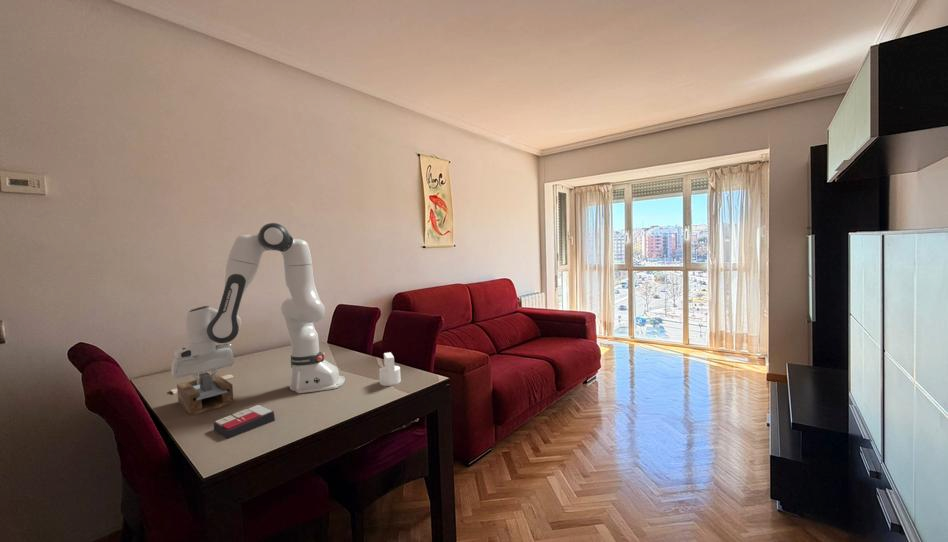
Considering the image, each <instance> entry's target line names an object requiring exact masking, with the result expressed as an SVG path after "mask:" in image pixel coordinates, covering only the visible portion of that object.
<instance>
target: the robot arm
mask: <svg viewBox="0 0 948 542" xmlns="http://www.w3.org/2000/svg"><path fill="white" fill-rule="evenodd" d="M266 251H278V252H280V253H281V254H282V255H281V256H282V257H283V259H282V260H283V266H284V268H283V269H284V277H285V285H286V287H287V288H288V290H289V293H290V297H287V298H286V299H285V300H284V301H283V302H282V304H281V307H280V311H281V313H282V316H283V317H284V320H285V323H286V327H287V331H288V335H289V340H290V347H291V348H290V349H291V351H290V352H291V355H290V368H291V380H290V381H291V382H290V385H289V390H291V391H293V392H295V393H297V394H304V393H305V394H306V393H311V392H313V393H314V392H321V391H328V390H335V389H337V388H340V387H341V386H343V384H344V383H345V381H346V378H345V376H343V375H340V372H339V369H338V367H337V366H336V365H334V364H333V363H331V362H329V361H328V360H326V359H325V353H326V352H321V351H320V343H319V334H318V332H317V330H316V328H315V325H314V324H316V323H318V322H320V321H321V320H322V319H323V318H324V316H325V314H326V308H325V305H324V304H323V302H322V301H321V298H320V296H319V293H318V290H317V287H316V284H315V278H314V267H313V259H312V254H311V249H310V245H309V244H308V242H307V241H306V240H303V239H301V238H293V236H292V235H291V234H290V233H289V231H288V230H287V228H286V227H285V226H283V225H281V224H280V223H277V222H270V223H266V224H264V225H263V226H262V227H261V228H260V229H259V232H258V233H257V234H240V235H238V236H237V237H236V238H235V240H234V242H233V243H232V246H231V249H230V251H229V253H228V257H227V261H226V264H225V265H226V267H225V276H224V277H225V279H224V288H223V293H222V296H221V300H220V304H219V307H218V309H216V308H213V307H211V306H209V305H203V306H199V307H196V308H192V309H191V310H189V311H188V312H187V314H186V319H185V325H186V326H185V327H186V333H187V336H188V339H187V345H185V346H182V347H180V348H178V349H176V350H174V352H173V355H174V357H173V359H172V360H171V368H170V370H171V373H170V374H171V376H172V377H173V379H179V378H180V379H181V378H183V377H188V376H192V377H193V379H194V380H197V385H199V384H202V379H199V374H200V373H204V372H211V374H210V375H211V381H214V376H215V375H217V370H219V369H223V368H228V367H232V366H233V365H234V364H235V358H234V354H233V353H234V346H233V345H232V344H231V341H233V340H235V338H237V336H238V334H239V331H240V329H241V328H242V325H243V321H242V318H241V317H240V315H238V312H239V308H240V305H241V301H242V298H243V296H244V293H245V291H246V290H247V288H248V287H249V286H250V285H251V283H252V282H253V281H254V279H255V277H256V276H257V275H256V274H257V273H258V269H259V267H260V264H261V263H260V262H261V259H262V256H263V254H264V252H266Z"/></svg>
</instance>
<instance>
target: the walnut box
mask: <svg viewBox="0 0 948 542" xmlns="http://www.w3.org/2000/svg"><path fill="white" fill-rule="evenodd" d="M211 382H212V383H214V384H215V385H216V386H218V387H219V388H220V389H222V390H225V389H226V390H227V393H223V394H219V395H216V396H212V397H208V398H205V399H201V400H197V401H196V400H195V399H194V398H195V397H199V396H200V392H198V391H197V390H196V389H195V388H194V387H193V386H196V385H197V380H196V379H193V380H188V381H184V382H181V383H176V388H177V392H178V393H177V401H178V404H179V405H180V406H181V407H182V408H183V409H184V410H185V411H186V412H187V413H188V415H189V416H194V415H198V414H201V413H205V412H208V411H211V410H215V409H218V408H222V407H225V406H229V405H233V404H234V402H235V401H234V390H233V388H234V387H233V384H232V383H231V382H229V381H228V380H225V379H223V378H222V376H220V375H219V374H215V376H214V381H211ZM199 385H200V384H199Z"/></svg>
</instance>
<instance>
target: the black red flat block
mask: <svg viewBox="0 0 948 542" xmlns="http://www.w3.org/2000/svg"><path fill="white" fill-rule="evenodd" d="M275 421H276V418H275V412H274V410H272V409H269V408H267V407H264V406H262V405H260V404H257V405H254V406H251V407H248V408H245V409H242V410H239V411H237V412H235V413H233V414H232V415H228V416H225V417H222V418H220V419H217V420H215V421H214V422H213V430H214V431H215V432H216V433H217V434H219V435H221V436H223V437H225V439H228V440H229V439H231V438H234V437H236V436H239V435H241V434H244V433H247V432H249V431H252V430H255V429H256V428H259V427H262V426H266V425H267V424H270V423H272V422H275Z"/></svg>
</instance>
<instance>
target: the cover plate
mask: <svg viewBox="0 0 948 542" xmlns="http://www.w3.org/2000/svg"><path fill="white" fill-rule="evenodd" d="M198 379H202V384H200V385H196V386H193V387H194V388H195V389H196V390H197V391H198V392H200V396H199V397H195V398H194V399H195V400H196V401H197V400H201V399H205V398H208V397H212V396H216V395H219V394H223V393H227V390H226V389H225V390H222V389H220V388H219V387H218V386H216V385H215V384H214V383H212V382H211V374H210V373H209V372H208V371H206V372H202V373H198Z"/></svg>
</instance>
